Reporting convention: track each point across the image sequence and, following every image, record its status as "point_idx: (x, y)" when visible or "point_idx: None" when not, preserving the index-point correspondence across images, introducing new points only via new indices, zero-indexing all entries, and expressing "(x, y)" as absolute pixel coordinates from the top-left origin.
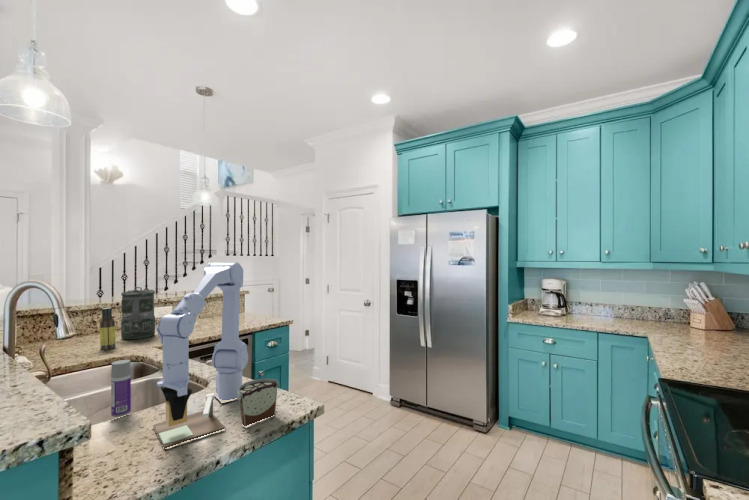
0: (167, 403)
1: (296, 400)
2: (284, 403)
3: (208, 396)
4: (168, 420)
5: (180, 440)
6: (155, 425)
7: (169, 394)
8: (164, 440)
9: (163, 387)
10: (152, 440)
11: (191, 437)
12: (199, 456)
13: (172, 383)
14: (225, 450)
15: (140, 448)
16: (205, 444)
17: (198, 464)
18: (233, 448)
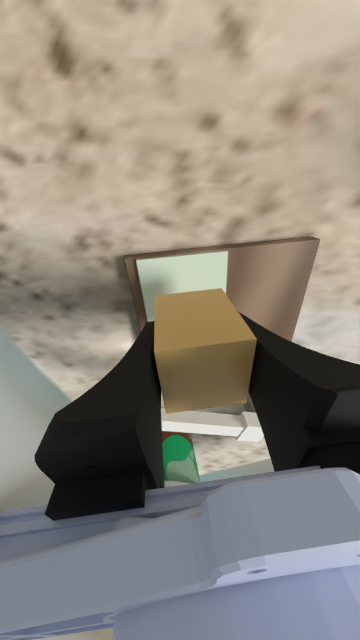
0: (209, 346)
1: (200, 469)
2: (203, 459)
3: (244, 430)
4: (167, 304)
5: (140, 303)
6: (308, 245)
7: (67, 457)
8: (158, 263)
9: (352, 406)
10: (224, 227)
11: (141, 329)
12: (48, 330)
13: (113, 615)
14: (56, 374)
15: (190, 182)
16: (108, 346)
17: (4, 324)
18: (59, 386)
